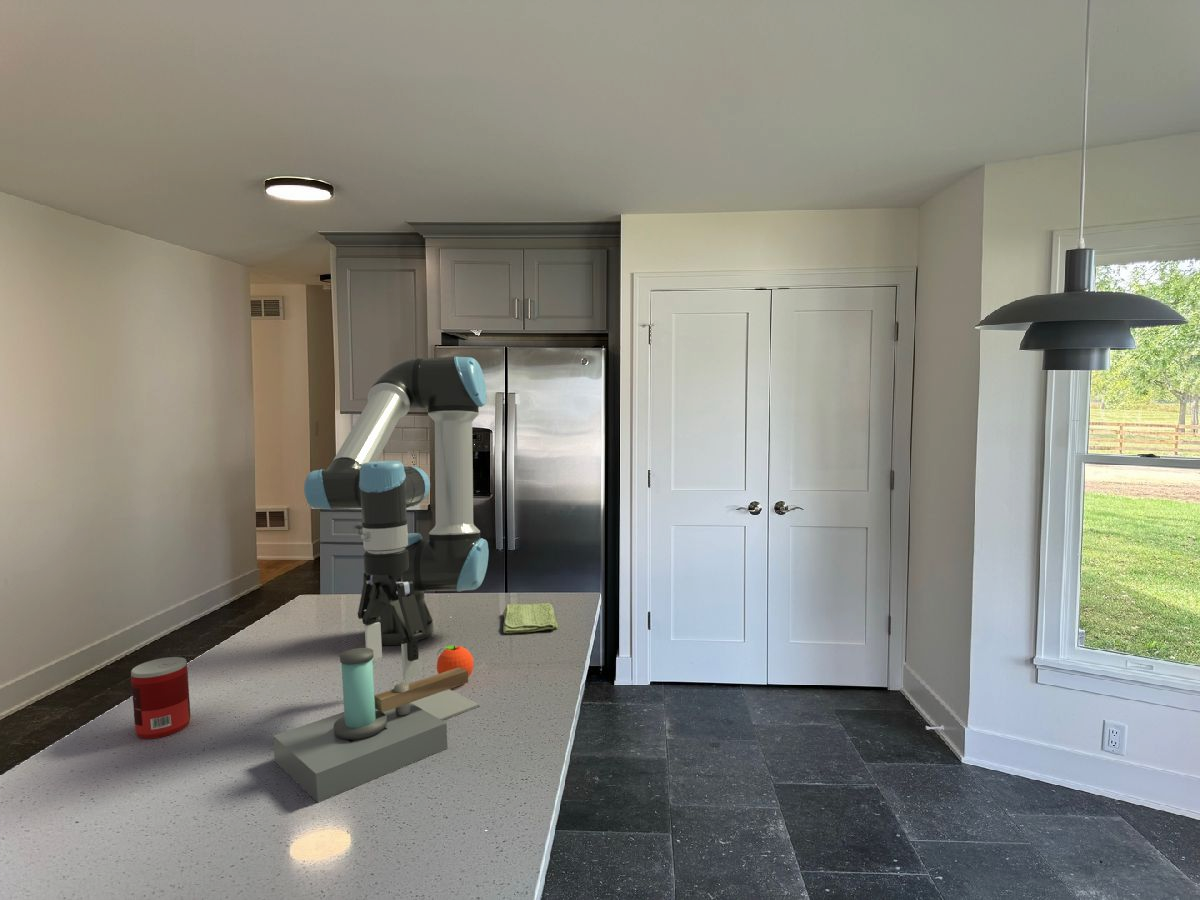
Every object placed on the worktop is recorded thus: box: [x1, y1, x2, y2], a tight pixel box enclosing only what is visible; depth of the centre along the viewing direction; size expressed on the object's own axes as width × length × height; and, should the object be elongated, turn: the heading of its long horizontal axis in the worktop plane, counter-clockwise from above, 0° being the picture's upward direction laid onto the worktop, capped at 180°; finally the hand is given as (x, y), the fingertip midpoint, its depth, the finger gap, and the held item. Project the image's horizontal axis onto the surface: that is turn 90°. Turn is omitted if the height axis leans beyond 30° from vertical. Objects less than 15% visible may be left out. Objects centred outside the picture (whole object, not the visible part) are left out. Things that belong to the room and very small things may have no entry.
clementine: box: [436, 645, 474, 678], centre depth 133 cm, size 8×7×7 cm
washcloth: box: [502, 602, 559, 635], centre depth 169 cm, size 13×18×3 cm
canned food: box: [130, 656, 192, 740], centre depth 116 cm, size 8×8×11 cm
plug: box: [334, 647, 387, 742], centre depth 105 cm, size 8×8×16 cm
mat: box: [411, 689, 480, 721], centre depth 122 cm, size 10×10×1 cm
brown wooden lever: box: [374, 667, 469, 715], centre depth 112 cm, size 2×16×4 cm, turn 134°
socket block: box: [272, 703, 448, 803], centre depth 105 cm, size 16×20×4 cm
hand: (392, 668), depth 123 cm, fingers open, 13 cm apart
